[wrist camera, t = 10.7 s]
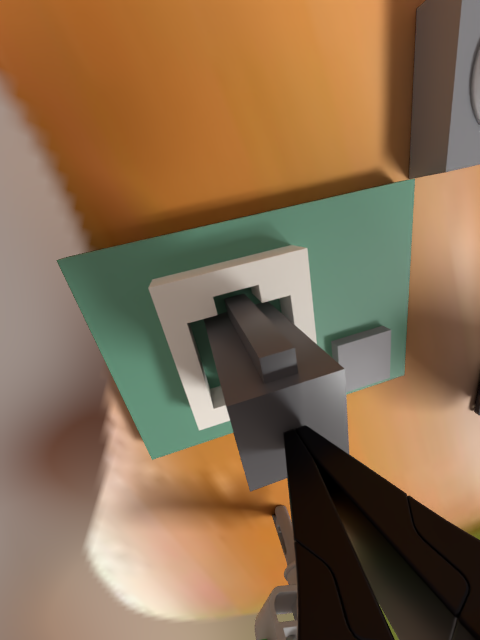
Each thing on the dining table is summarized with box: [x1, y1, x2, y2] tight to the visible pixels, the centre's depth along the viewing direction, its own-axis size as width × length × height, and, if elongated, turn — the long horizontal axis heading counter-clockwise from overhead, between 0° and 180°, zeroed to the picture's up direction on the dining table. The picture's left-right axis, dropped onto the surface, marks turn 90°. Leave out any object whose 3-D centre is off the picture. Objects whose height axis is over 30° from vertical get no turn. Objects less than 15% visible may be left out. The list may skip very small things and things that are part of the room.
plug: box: [204, 294, 349, 491], centre depth 12 cm, size 4×5×8 cm
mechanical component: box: [255, 505, 297, 640], centre depth 21 cm, size 3×10×10 cm, turn 69°
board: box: [57, 179, 415, 460], centre depth 16 cm, size 20×14×4 cm
